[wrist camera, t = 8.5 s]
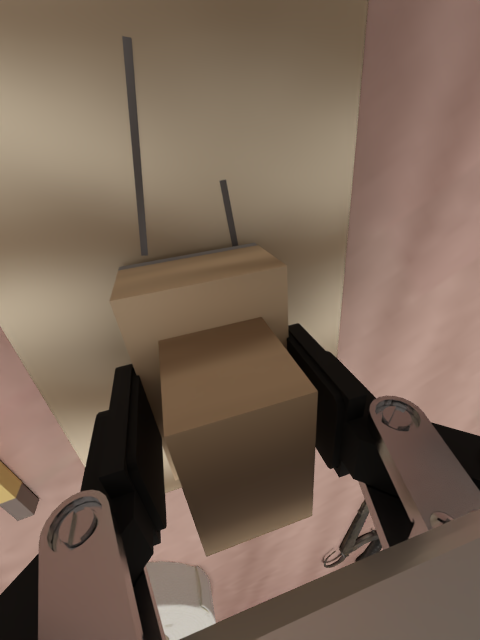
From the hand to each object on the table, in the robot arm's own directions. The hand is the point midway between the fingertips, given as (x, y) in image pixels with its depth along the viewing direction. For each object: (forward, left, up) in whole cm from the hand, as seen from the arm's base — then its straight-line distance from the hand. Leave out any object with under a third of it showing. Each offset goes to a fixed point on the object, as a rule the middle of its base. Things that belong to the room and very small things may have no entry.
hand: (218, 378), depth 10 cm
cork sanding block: (0, 0, -2) cm, 2 cm away
